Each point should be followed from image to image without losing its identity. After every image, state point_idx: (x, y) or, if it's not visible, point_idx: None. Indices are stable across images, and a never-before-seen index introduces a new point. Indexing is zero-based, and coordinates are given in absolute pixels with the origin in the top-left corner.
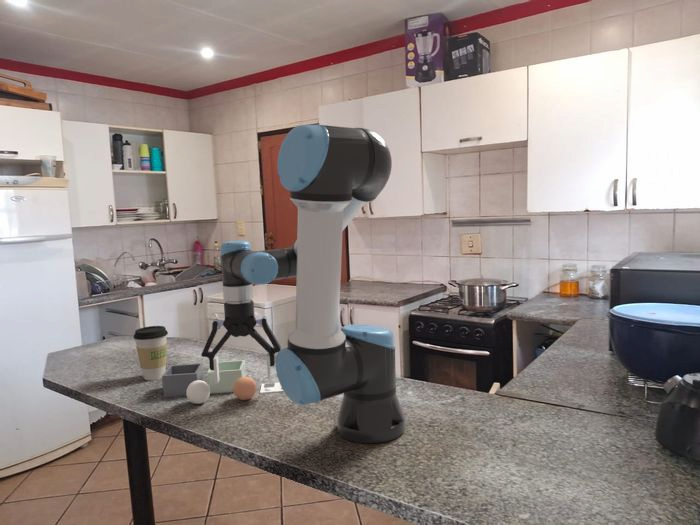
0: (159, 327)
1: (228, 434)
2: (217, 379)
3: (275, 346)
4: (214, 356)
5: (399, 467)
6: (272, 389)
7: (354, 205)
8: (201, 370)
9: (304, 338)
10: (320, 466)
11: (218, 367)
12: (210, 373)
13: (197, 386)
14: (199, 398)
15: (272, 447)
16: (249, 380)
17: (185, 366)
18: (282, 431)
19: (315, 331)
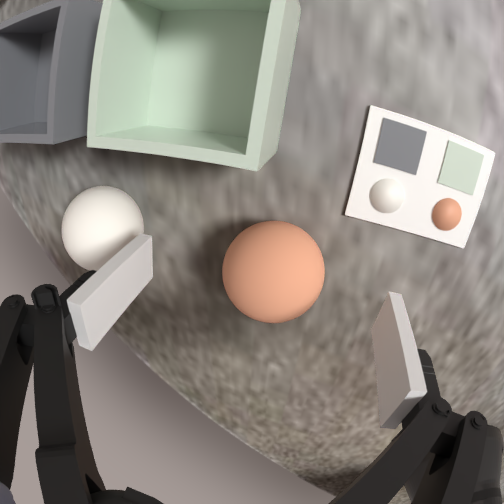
0: None
1: (225, 411)
2: (144, 285)
3: (434, 471)
4: (69, 319)
5: (406, 497)
6: (400, 206)
7: None
8: (76, 37)
9: None
10: (338, 489)
11: (119, 270)
12: (102, 147)
13: (90, 269)
14: None
15: (296, 459)
16: (289, 315)
17: (25, 20)
18: (328, 437)
19: None
